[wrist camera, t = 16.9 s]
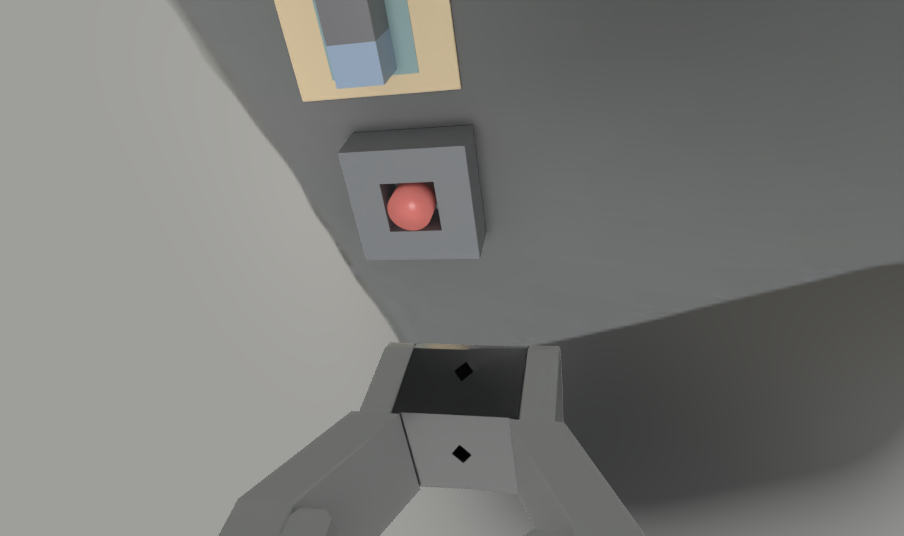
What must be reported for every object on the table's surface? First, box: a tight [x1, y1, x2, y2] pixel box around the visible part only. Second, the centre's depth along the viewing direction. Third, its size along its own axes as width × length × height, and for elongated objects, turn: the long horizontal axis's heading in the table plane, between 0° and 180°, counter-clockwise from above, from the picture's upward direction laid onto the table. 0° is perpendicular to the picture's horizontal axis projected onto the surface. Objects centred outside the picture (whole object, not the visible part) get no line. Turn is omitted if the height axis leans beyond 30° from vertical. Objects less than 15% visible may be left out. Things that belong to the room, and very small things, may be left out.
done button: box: [387, 182, 437, 231], centre depth 49 cm, size 4×4×4 cm
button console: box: [338, 125, 486, 260], centre depth 49 cm, size 10×10×4 cm
